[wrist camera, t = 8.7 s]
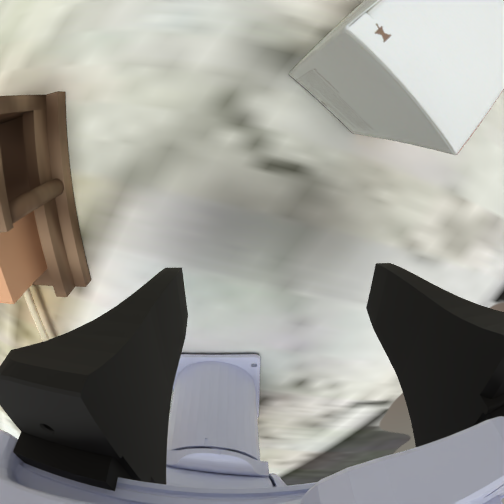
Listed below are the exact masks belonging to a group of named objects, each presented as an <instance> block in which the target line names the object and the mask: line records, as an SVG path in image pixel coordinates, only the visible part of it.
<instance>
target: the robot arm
mask: <svg viewBox="0 0 504 504" xmlns="http://www.w3.org/2000/svg"><path fill="white" fill-rule="evenodd" d="M366 308H367V311H368V314H369V318H370V321H371V323H372V326H373V329H374V331H375V333H376V335H377V337H378V339H379V341H380V343H381V344H382V346H383V348H384V350H385V352H386V354H387V356H388V358H389V360H390V362H391V364H392V366H393V368H394V370H395V372H396V374H397V377H398V379H399V382H400V385H401V388H402V391H403V394H404V397H405V400H406V404H407V407H408V411H409V415H410V418H411V423H412V428H413V433H414V438H415V443H416V448H413V449H409V450H406V451H402V452H399V453H395V454H392V455H388V456H384V457H380V458H377V459H374V460H371V461H368V462H365V463H361V464H358V465H355V466H351V467H348V468H346V469H344V470H341V471H339V472H337V473H335V474H333V475H330V476H328V477H326V478H323V479H321V480H320V481H319V482H315V483H308V484H299V485H290V486H286V484H285V483H284V482H283V481H282V479H281V478H280V477H279V476H278V475H276V474H269V469H268V462H266V461H260V449H259V435H258V421H257V418H258V417H259V391H260V356H259V355H257V354H238V355H196V354H181V352H182V348H183V344H184V340H185V335H186V327H187V318H188V312H187V305H186V297H185V289H184V281H183V273H182V268H165V269H163V270H162V271H161V272H159V273H158V274H157V275H156V276H154V277H153V278H152V279H151V280H150V281H148V282H147V283H146V284H145V285H144V286H142V287H141V288H140V289H139V290H137V291H136V292H135V293H134V294H132V295H131V296H130V297H128V298H127V299H125V300H124V301H123V302H121V303H120V304H119V305H117V306H116V307H114V308H113V309H111V310H110V311H108V312H107V313H105V314H103V315H102V316H100V317H98V318H97V319H95V320H93V321H91V322H89V323H87V324H85V325H83V326H81V327H79V328H77V329H75V330H73V331H70V332H68V333H66V334H63V335H61V336H58V337H55V338H53V339H50V340H47V341H44V342H41V343H37V344H34V345H30V346H26V347H22V348H18V349H14V350H11V351H10V352H9V354H8V355H7V357H6V358H5V360H4V361H3V363H2V364H1V366H0V405H1V407H2V408H3V409H4V411H5V412H6V413H7V414H8V416H9V417H10V418H11V420H12V421H13V422H14V423H15V424H16V426H17V427H18V428H19V429H20V430H21V434H20V437H19V439H17V438H15V437H14V436H12V435H11V434H9V433H7V432H5V431H3V430H0V504H503V503H502V501H501V499H503V498H504V312H500V311H497V310H493V309H490V308H487V307H484V306H481V305H478V304H475V303H473V302H470V301H468V300H465V299H463V298H460V297H458V296H456V295H454V294H452V293H449V292H447V291H445V290H443V289H441V288H439V287H437V286H435V285H433V284H432V283H430V282H428V281H426V280H424V279H422V278H420V277H418V276H416V275H415V274H413V273H411V272H409V271H407V270H405V269H403V268H401V267H398V266H396V265H394V264H391V263H380V264H376V266H375V271H374V276H373V280H372V285H371V290H370V294H369V299H368V303H367V307H366ZM253 363H256V364H253ZM172 389H173V392H174V393H173V399H172V404H171V410H170V403H171V394H172ZM169 412H170V416H169Z"/></svg>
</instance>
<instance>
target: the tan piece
mask: <svg viewBox="0 0 504 504" xmlns="http://www.w3.org/2000/svg"><path fill="white" fill-rule="evenodd" d="M13 227H14V228H12V229H11V230H9V231H8V232H1V233H0V303H8V304H14V303H15V302H16V301H17V300H18V299H19V298H20V297H21V296H22V295H24V297H25V300H26V303H27V305H28V308H29V310H30V313H31V315H32V318H33V320H34V323H35V325H36V327H37V329H38V332H39V334H40V336H41V338H42V341H43V342H44V341H47V340H50V339H49V337H48V335H47V333H46V330H45V328H44V326H43V323H42V321H41V318H40V316H39V313H38V311H37V308H36V306H35V303H34V300H33V297H32V295H31V292H30V289H29V287H30V286H31V285H32V284H33V283H34V282H35V281H36V280H37V279H38V278H39V277H40V276H41V275H42V274H43V272H44V271H45V270H46V269H47V264H46V261H45V257H44V253H43V249H42V245H41V241H40V237H39V233H38V228H37V224H36V219H35V214H34V211H32V212H31V213H29V214H27V215H26V216H24V217H23V218H21V219H19V220H18V221H16V222H15V223H13Z"/></svg>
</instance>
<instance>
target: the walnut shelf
mask: <svg viewBox="0 0 504 504" xmlns="http://www.w3.org/2000/svg"><path fill="white" fill-rule="evenodd" d="M32 211H34V214H35V219H36V224H37V228H38V233H39V237H40V241H41V245H42V249H43V253H44V257H45V261H46V264H47V269H46V270H45V271H44V272H43V274H42V275H41V276H40V277H39V278H38V279H37V280H36V281H35V282H34V283H33V284H32V285H51V286H53V287H54V290H55V294H56V296H57V297H67V296H68V295H69V294H70V292H71V291H72V290H73V289H74V287H75V286H80V287H86V286H87V285H88V283H89V282H90V281H91V278H90V274H89V270H88V266H87V262H86V258H85V253H84V249H83V244H82V239H81V234H80V229H79V224H78V219H77V213H76V207H75V201H74V195H73V188H72V180H71V172H70V164H69V154H68V142H67V128H66V106H65V92H54V93H51V94H47V95H16V96H0V233H1V232H8V231H9V230H11V229H12V228H14V227H13V223H15V222H16V221H18V220H19V219H21V218H23V217H24V216H26V215H27V214H29V213H31V212H32Z"/></svg>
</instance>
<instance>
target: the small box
mask: <svg viewBox="0 0 504 504" xmlns="http://www.w3.org/2000/svg"><path fill="white" fill-rule="evenodd" d="M289 75H290V76H291V77H292V78H294V79H295V80H296V81H297V82H298V83H300V84H301V85H302V86H303V87H304V88H305V89H306V90H308V91H309V92H310V93H311V94H312V95H313V96H314V97H315V98H316V99H318V100H319V101H320V102H321V103H322V104H323V105H324V106H325V107H326V108H327V109H328V110H329V111H330V112H332V113H333V114H334V115H335V116H336V117H337V118H338V119H339V120H340V121H341V122H342V123H343V124H344V125H345V126H346V127H347V128H348V129H349V130H350V131H351V132H352V133H354V134H360V135H366V136H372V137H377V138H383V139H388V140H393V141H398V142H403V143H407V144H412V145H416V146H420V147H424V148H429V149H433V150H437V151H441V152H445V153H449V154H453V155H457V154H458V153H459V152H460V150H461V149H462V147H463V146H464V145H465V143H466V142H467V141H468V140H469V138H470V137H471V136H472V134H473V133H474V131H475V130H476V129H477V127H478V126H479V125H480V123H481V122H482V120H483V119H484V118H485V116H486V115H487V113H488V112H489V111H490V109H491V107H492V106H493V105H494V103H495V102H496V100H497V99H498V97H499V96H500V94H501V93H502V91H503V90H504V1H503V0H365V1H363V2H362V3H361V4H360V5H359V6H358V7H357V8H356V9H354V10H353V11H352V12H351V13H350V14H349V15H348V16H347V17H346V18H345V19H343V20H342V21H341V22H340V23H339V24H338V25H337V26H336V27H335V28H334V29H333V30H332V31H331V32H330V33H329V34H328V35H326V36H325V37H324V38H323V39H322V40H321V41H320V42H319V43H318V44H317V45H316V46H315V47H314V48H313V49H312V50H311V51H310V52H309V53H308V54H307V55H306V56H305V57H304V58H303V59H302V60H301V61H300V62H299V63H298V64H297V65H296V66H295V67H294V68H293V70H292V71H291V72H290V73H289Z"/></svg>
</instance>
